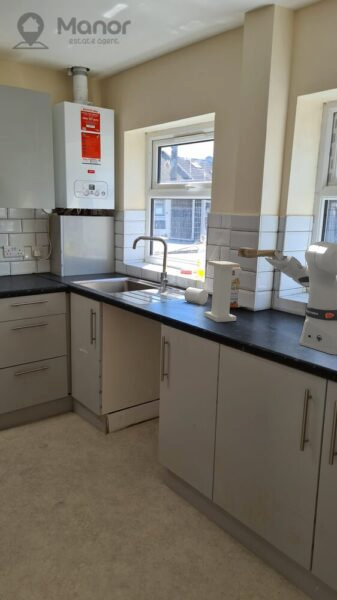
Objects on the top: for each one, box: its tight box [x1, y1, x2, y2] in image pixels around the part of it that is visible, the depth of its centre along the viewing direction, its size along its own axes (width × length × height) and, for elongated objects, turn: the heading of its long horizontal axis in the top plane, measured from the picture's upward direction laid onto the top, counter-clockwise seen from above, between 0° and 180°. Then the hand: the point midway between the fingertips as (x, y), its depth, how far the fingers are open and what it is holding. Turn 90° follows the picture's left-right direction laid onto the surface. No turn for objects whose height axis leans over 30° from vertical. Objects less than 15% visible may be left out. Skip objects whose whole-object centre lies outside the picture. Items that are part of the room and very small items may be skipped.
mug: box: [184, 286, 209, 305], centre depth 244 cm, size 12×10×8 cm
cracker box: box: [230, 268, 242, 308], centre depth 236 cm, size 14×6×21 cm, turn 105°
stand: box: [203, 260, 241, 323], centre depth 207 cm, size 12×10×26 cm
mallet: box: [237, 246, 281, 259], centre depth 213 cm, size 8×20×4 cm, turn 115°
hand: (271, 252), depth 215 cm, fingers closed on mallet, 3 cm apart
